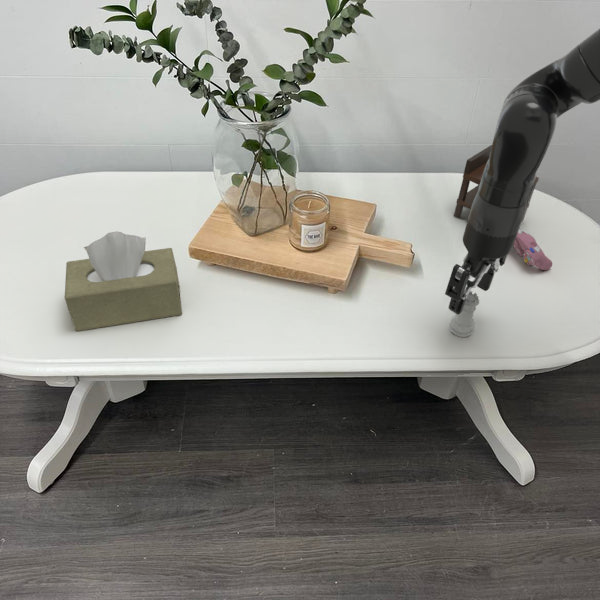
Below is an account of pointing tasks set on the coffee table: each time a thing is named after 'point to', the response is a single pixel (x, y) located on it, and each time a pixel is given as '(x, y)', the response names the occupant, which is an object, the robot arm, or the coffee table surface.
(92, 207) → the coffee table surface
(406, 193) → the coffee table surface
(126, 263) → the tissue box
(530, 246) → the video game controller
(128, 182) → the coffee table surface
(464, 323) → the rook chess piece
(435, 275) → the coffee table surface
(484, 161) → the stand
